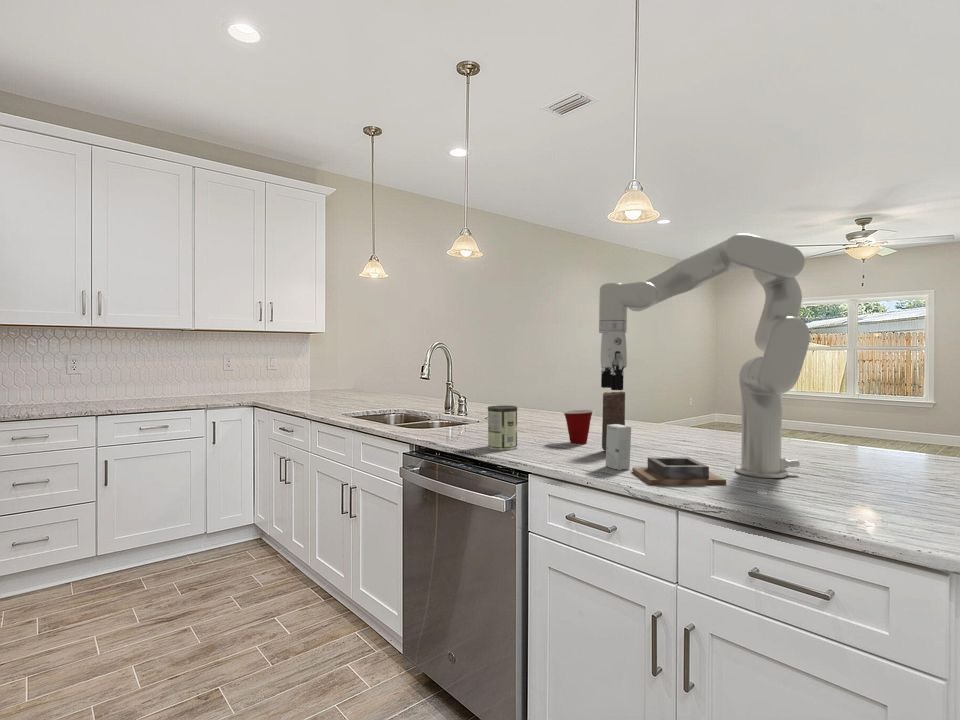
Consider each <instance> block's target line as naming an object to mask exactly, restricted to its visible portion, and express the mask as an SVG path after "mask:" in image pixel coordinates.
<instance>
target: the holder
mask: <svg viewBox="0 0 960 720" xmlns="http://www.w3.org/2000/svg"><path fill="white" fill-rule="evenodd" d="M632 471H633V472H634V473H633V472H632V473H633V474H634V475H636V474H637V475H638V476H637V475H636V476H637V477H639V478H640V477H641V478H642V479H641V478H640V479H641V480H643V481H644V482H645V481H646V482H645V483H647V484H648V485H650V486H662V485H663V486H672V485H673V486H682V485H684V486H686V485H687V486H699V485H700V486H702V485H703V486H704V485H705V486H706V485H709V486H717V485H718V486H719V485H720V486H723V485H722V484H726V485H727V479H726V478H723V477H721V476H719V475H717V474H716V473H713V472H711V471H710V466H709V465H706V464H704V463H702V462H700V461H697V460H696V459H694V458H691V457H687V456H686V457H647V467H632Z"/></svg>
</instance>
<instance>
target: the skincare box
mask: <svg viewBox="0 0 960 720" xmlns="http://www.w3.org/2000/svg"><path fill="white" fill-rule="evenodd" d="M631 436H632V427H631V426H629V425H626V424H625V425H620V424H611V425H607V438H606V451H605V467H607V466H608V467H607V468H610V469H613V468H614V469H613V470H615V469H617V470H616V471H623V470H622V469H627V470H630V469H631V467H630V466H631V465H630V463H631V446H632V445H631V443H632V441H631V440H632V439H631V438H632V437H631Z"/></svg>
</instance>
